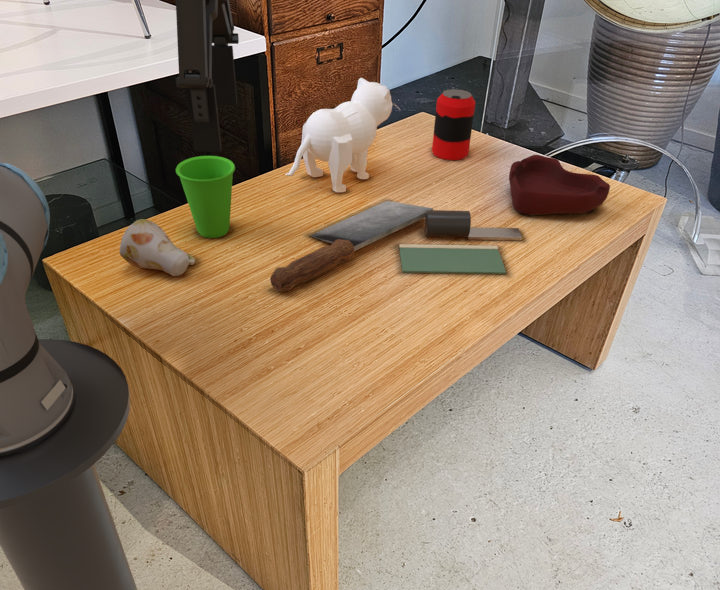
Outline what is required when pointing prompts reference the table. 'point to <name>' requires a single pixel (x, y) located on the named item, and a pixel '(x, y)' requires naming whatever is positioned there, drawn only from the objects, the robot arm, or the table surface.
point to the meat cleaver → (347, 241)
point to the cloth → (451, 259)
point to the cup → (208, 192)
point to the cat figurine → (344, 133)
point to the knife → (464, 227)
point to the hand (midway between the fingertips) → (217, 126)
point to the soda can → (453, 124)
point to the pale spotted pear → (153, 249)
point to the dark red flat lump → (553, 188)
